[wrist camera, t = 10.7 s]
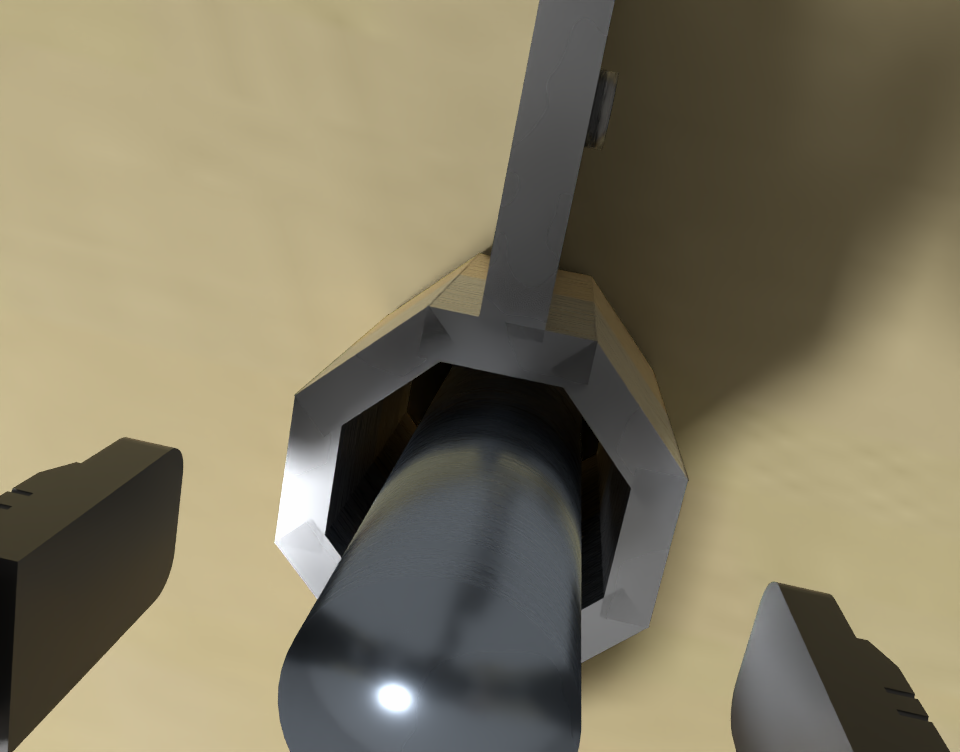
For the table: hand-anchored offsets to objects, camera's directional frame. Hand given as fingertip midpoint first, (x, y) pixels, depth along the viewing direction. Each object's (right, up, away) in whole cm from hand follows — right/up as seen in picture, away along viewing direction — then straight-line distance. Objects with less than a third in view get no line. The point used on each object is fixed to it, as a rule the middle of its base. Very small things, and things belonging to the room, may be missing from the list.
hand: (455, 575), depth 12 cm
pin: (+1, +2, +9) cm, 9 cm away
